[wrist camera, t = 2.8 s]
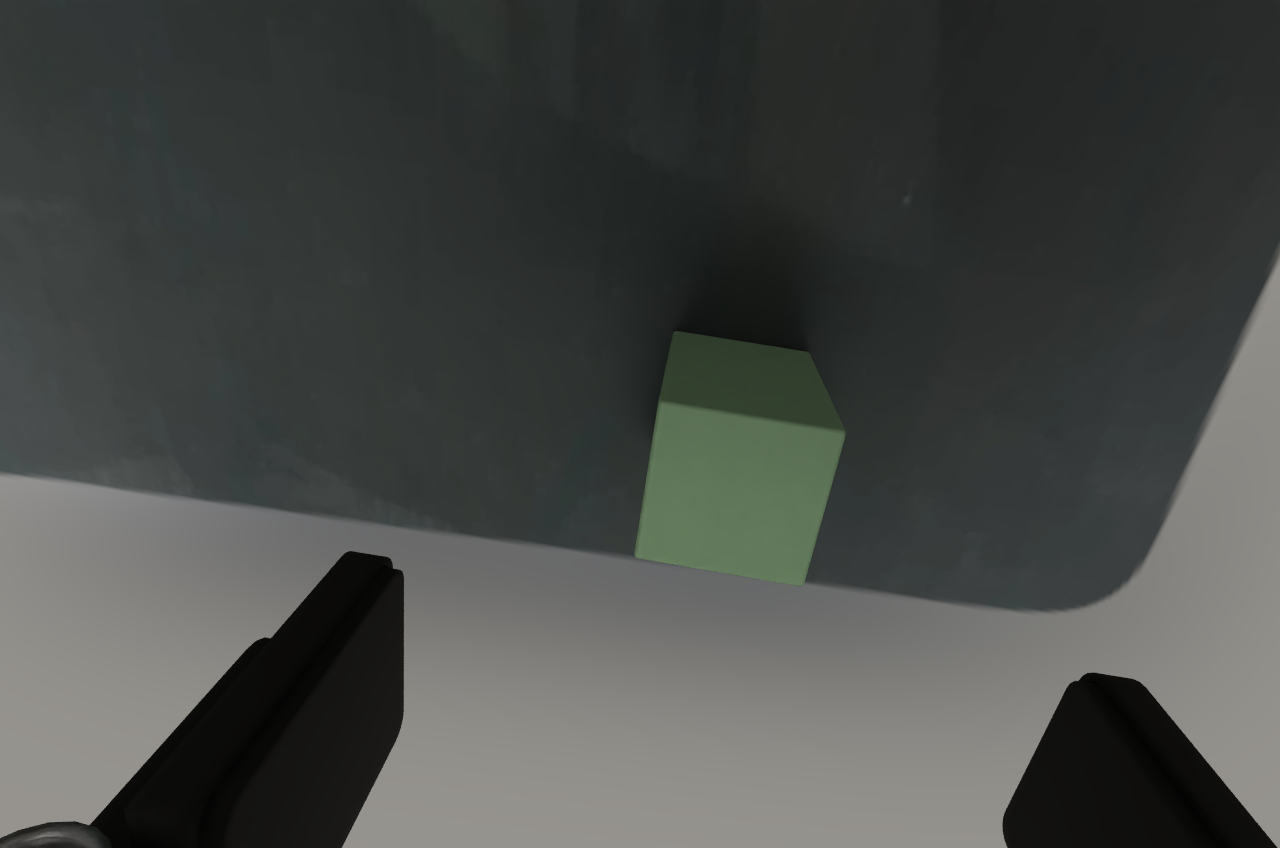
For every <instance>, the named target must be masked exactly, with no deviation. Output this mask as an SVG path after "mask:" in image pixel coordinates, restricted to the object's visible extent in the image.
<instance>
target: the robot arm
mask: <svg viewBox="0 0 1280 848" xmlns="http://www.w3.org/2000/svg"><path fill="white" fill-rule="evenodd" d="M403 712H404V576H403V573H402V571H401V570H397V569H393V565H392V561H391V559H390V558H388V557H383V556H377V555H371V554H364V553H358V552H353V551H349V552H346V553H345V554H344V555H343V556H342V557H341V558H340V559H339V560H338V561H337V562H336V564H335V565H334V566H333V567H332V568H331V569H330V571H329V572H328V573H327V574H326V575H325V577H324V578H323V579H322V580H321V581H320V582H319V583H318V584H317V586H316V587H315V588H314V589H313V590H312V591H311V593H310V594H309V595H308V596H307V597H306V599H305V600H304V601H303V602H302V603H301V604H300V605H299V607H298V608H297V609H296V610H295V611H294V612H293V613H292V615H291V616H290V617H289V618H288V619H287V620H286V622H285V623H284V624H283V625H282V626H281V627H280V628H279V630H278V631H277V632H276V633H275V634H274V636H273V637H272V638H262V639H260V640H257V641H256V642H254V643H253V644H252V645H251V646H250V647H249V648H248V649H247V650H246V651H245V652H244V653H243V654H242V655H241V656H240V657H239V659H238V660H237V661H236V662H235V663H234V664H233V665H232V666H231V668H230V669H229V670H228V671H227V672H226V673H225V674H224V675H223V676H222V678H221V679H220V680H219V681H218V682H217V683H216V684H215V686H214V687H213V688H212V689H211V690H210V691H209V692H208V693H207V694H206V695H205V697H204V698H203V699H202V700H201V701H200V702H199V703H198V705H197V706H196V707H195V708H194V709H193V710H192V711H191V712H190V713H189V715H188V716H187V717H186V718H185V719H184V720H183V722H181V723H180V725H179V726H178V727H177V728H176V729H175V730H174V732H172V734H171V735H170V736H169V737H168V738H167V739H166V741H165V742H164V743H163V744H162V745H161V746H160V747H159V748H158V749H157V750H156V752H155V753H154V754H153V755H152V756H151V757H150V758H149V759H148V760H147V762H146V763H145V764H144V765H143V766H142V767H141V768H140V770H139V771H138V772H137V773H136V774H135V775H134V776H133V777H132V778H131V780H130V781H129V782H128V783H127V784H126V785H125V786H124V787H123V788H122V790H121V791H120V792H119V793H118V794H117V795H116V796H115V797H114V799H113V800H112V801H111V802H110V803H109V804H108V805H107V806H106V808H105V809H104V810H103V811H102V812H101V813H100V814H99V815H98V817H97V818H96V819H95V820H94V821H93V822H92V823H91V824H90V825H86V824H82V823H79V822H75V821H74V822H50V823H45V824H41V825H37V826H33V827H29V828H25V829H21V830H18V831H16V832H14V833H11V834H9V835H7V836H4V837H2V838H0V848H342V846H343V844H344V842H345V840H346V838H347V836H348V834H349V832H350V830H351V828H352V826H353V824H354V822H355V821H356V819H357V817H358V815H359V812H360V811H361V809H362V807H363V804H364V802H365V801H366V799H367V797H368V795H369V793H370V791H371V789H372V787H373V785H374V783H375V781H376V779H377V777H378V775H379V773H380V771H381V769H382V767H383V765H384V763H385V761H386V759H387V757H388V755H389V753H390V751H391V749H392V747H393V745H394V743H395V742H396V739H397V737H398V734H399V731H400V728H401V725H402V720H403ZM1003 835H1004V839H1005V842H1006V845H1007V847H1008V848H1277V847H1276V845H1275V844H1274V843H1273V842H1272V841H1271V839H1270V838H1269V837H1268V836H1267V835H1266V833H1265V832H1264V831H1263V830H1262V828H1261V827H1260V826H1259V825H1258V823H1257V822H1256V821H1255V820H1254V819H1253V817H1252V816H1251V815H1250V814H1249V813H1248V811H1247V810H1246V809H1245V808H1244V806H1243V805H1242V804H1241V803H1240V802H1239V801H1238V799H1237V798H1236V797H1235V795H1234V794H1233V793H1232V792H1231V791H1230V789H1229V788H1228V787H1227V786H1226V785H1225V783H1224V782H1223V781H1222V780H1221V778H1220V777H1219V776H1218V775H1217V774H1216V772H1215V771H1214V770H1213V769H1212V767H1211V766H1210V765H1209V764H1208V763H1207V761H1206V760H1205V759H1204V758H1203V757H1202V755H1201V754H1200V753H1199V752H1198V750H1197V749H1196V748H1195V747H1194V746H1193V744H1192V743H1191V742H1190V741H1189V739H1188V738H1187V737H1186V736H1185V735H1184V733H1183V732H1182V731H1181V730H1180V729H1179V727H1178V726H1177V725H1176V724H1175V722H1174V721H1173V720H1172V719H1171V717H1170V716H1169V715H1168V714H1167V713H1166V711H1165V710H1164V709H1163V708H1162V707H1161V705H1160V704H1159V703H1158V702H1157V701H1156V699H1155V698H1154V697H1153V696H1152V694H1151V693H1150V692H1149V691H1148V690H1147V688H1146V687H1144V686H1143V685H1142V684H1141V683H1140V682H1139V681H1136V680H1134V679H1130V678H1123V677H1117V676H1111V675H1105V674H1099V673H1087V674H1085V675H1083V676H1082V677H1081V679H1080V680H1079V681H1074V682H1072V683H1070V684H1069V686H1068V687H1067V688H1066V691H1065V692H1064V695H1063V696H1062V699H1061V701H1060V703H1059V705H1058V707H1057V709H1056V711H1055V713H1054V715H1053V717H1052V719H1051V721H1050V723H1049V725H1048V727H1047V729H1046V731H1045V733H1044V735H1043V737H1042V739H1041V741H1040V743H1039V745H1038V747H1037V749H1036V751H1035V753H1034V755H1033V757H1032V759H1031V761H1030V763H1029V765H1028V767H1027V769H1026V771H1025V773H1024V775H1023V777H1022V779H1021V781H1020V783H1019V785H1018V787H1017V789H1016V791H1015V793H1014V795H1013V797H1012V799H1011V801H1010V803H1009V805H1008V807H1007V809H1006V811H1005V814H1004V817H1003Z"/></svg>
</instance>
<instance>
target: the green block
mask: <svg viewBox="0 0 1280 848" xmlns="http://www.w3.org/2000/svg"><path fill="white" fill-rule="evenodd" d="M845 435H846V432H845V429H844V427H843V425H842V423H841V420H840V418H839V416H838V414H837V412H836V410H835V407H834V405H833V403H832V401H831V399H830V397H829V394H828V392H827V390H826V388H825V386H824V384H823V381H822V379H821V377H820V375H819V373H818V371H817V369H816V366H815V364H814V362H813V360H812V358H811V356H810V353H808V352H806V351H799V350H793V349H787V348H781V347H774V346H768V345H762V344H756V343H749V342H743V341H737V340H731V339H724V338H718V337H712V336H705V335H699V334H693V333H687V332H680V331H674V333H673V336H672V340H671V345H670V350H669V355H668V359H667V364H666V369H665V373H664V378H663V383H662V387H661V392H660V397H659V401H658V407H657V414H656V420H655V426H654V433H653V439H652V445H651V451H650V458H649V464H648V470H647V477H646V483H645V489H644V496H643V502H642V508H641V515H640V521H639V527H638V534H637V540H636V546H635V553H634V554H635V557H636V558H640V559H646V560H651V561H657V562H663V563H669V564H674V565H680V566H686V567H692V568H698V569H703V570H709V571H715V572H721V573H726V574H732V575H738V576H744V577H749V578H755V579H761V580H767V581H773V582H779V583H784V584H790V585H796V586H803V584H804V582H805V579H806V575H807V571H808V568H809V564H810V561H811V557H812V554H813V550H814V546H815V543H816V539H817V536H818V532H819V528H820V525H821V521H822V518H823V514H824V511H825V507H826V503H827V500H828V496H829V493H830V489H831V486H832V482H833V478H834V475H835V471H836V468H837V464H838V460H839V457H840V453H841V450H842V446H843V443H844V439H845Z"/></svg>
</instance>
